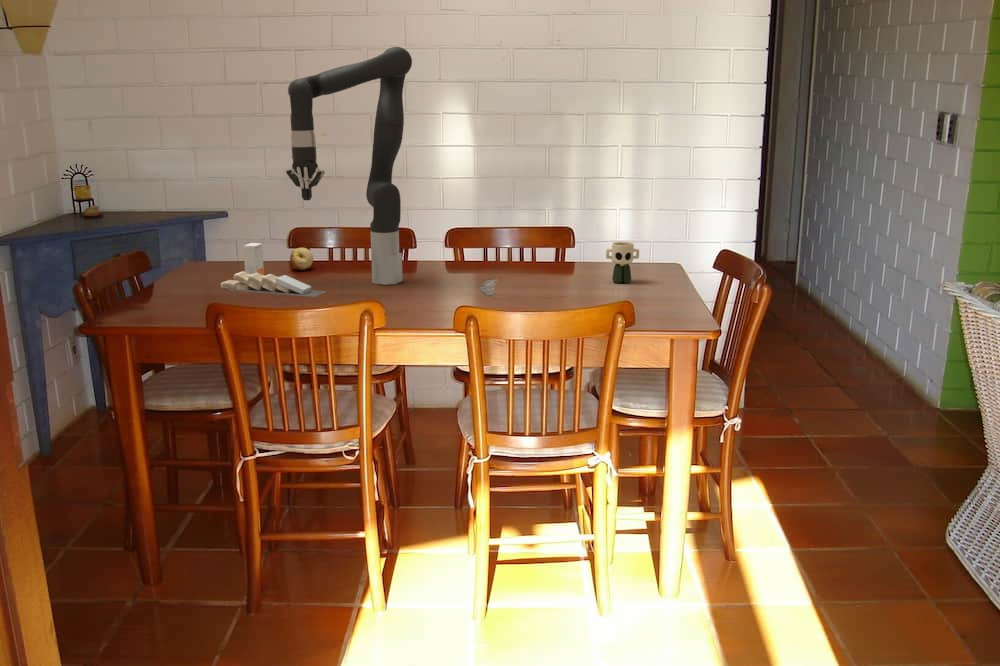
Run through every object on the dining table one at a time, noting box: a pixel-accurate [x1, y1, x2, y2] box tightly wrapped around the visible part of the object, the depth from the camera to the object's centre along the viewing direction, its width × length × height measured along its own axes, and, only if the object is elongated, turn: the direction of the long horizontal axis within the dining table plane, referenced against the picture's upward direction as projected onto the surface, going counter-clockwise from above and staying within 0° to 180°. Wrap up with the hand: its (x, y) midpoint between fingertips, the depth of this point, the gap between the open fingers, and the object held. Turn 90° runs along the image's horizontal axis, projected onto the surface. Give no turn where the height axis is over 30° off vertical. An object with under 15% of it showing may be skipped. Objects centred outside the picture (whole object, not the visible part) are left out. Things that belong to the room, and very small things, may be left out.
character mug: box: [605, 241, 640, 283], centre depth 315 cm, size 11×7×13 cm, turn 89°
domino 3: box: [248, 273, 279, 292], centre depth 305 cm, size 2×5×10 cm
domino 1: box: [220, 279, 252, 290], centre depth 308 cm, size 2×5×10 cm
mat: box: [225, 288, 328, 298], centre depth 304 cm, size 32×8×1 cm, turn 71°
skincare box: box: [242, 242, 265, 276], centre depth 321 cm, size 6×4×12 cm
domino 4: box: [261, 273, 293, 293], centre depth 303 cm, size 2×5×10 cm
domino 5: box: [275, 274, 312, 294], centre depth 302 cm, size 2×5×10 cm
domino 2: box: [232, 270, 266, 291], centre depth 306 cm, size 2×5×10 cm
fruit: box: [289, 247, 314, 271], centre depth 337 cm, size 8×8×8 cm
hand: (307, 200), depth 305 cm, fingers closed
